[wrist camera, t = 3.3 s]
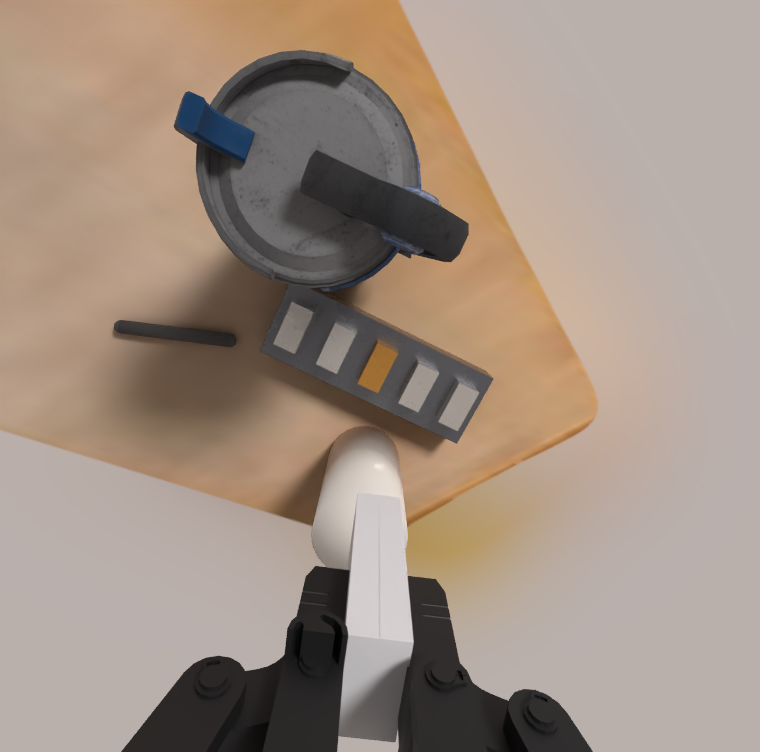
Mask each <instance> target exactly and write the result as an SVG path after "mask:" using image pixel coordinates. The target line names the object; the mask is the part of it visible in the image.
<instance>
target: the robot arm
mask: <svg viewBox="0 0 760 752" xmlns="http://www.w3.org/2000/svg"><path fill="white" fill-rule="evenodd" d="M397 730H398V735H399V750H398V752H592V750H591V748H590V747H589V745H588V744H587V742H586V741H585V739H584V738H583V737H582V735H581V733H580V732H579V730H578V729H577V727H576V726H575V724H574V723H573V721H572V720H571V718H570V717H569V715H568V714H567V712H566V711H565V710H564V709H563V708H562V707H561V705H560V704H559V703H558V702H556V701H555V700H554V699H552V698H551V697H549V696H548V695H546V694H544V693H541V692H539V691H536V690H528V689H523V690H520V691H517V692H515V693H514V694H513V695H512V696H511V698H510V699H509V701H507V700H504V699H502V698H500V697H497V696H495V695H492V694H490V693H488V692H486V691H484V690H482V689H480V688H479V687H478V686H476V685H475V684H474V683H473V682H472V681H471V679H470V676H469V674H468V672H467V670H466V669H465V668H464V667H463V666H462V665H461V664H460V662H459V657H458V653H457V648H456V643H455V638H454V633H453V629H452V623H451V620H450V613H449V609H448V604H447V599H446V594H445V591H444V590H443V589H442V587H441V586H440V584H439V583H438V582H437V580H436V579H429V578H420V577H412V576H407V566H406V555H405V545H404V534H403V524H402V513H401V502H400V498H399V497H391V496H383V495H375V494H367V493H360V492H358V494H357V501H356V508H355V515H354V522H353V529H352V536H351V543H350V551H349V558H348V566H347V570H344V569H336V568H327V567H319V566H315V567H314V568H313V569H312V571H311V572H310V573H309V574H308V575H307V576H306V578H305V583H304V587H303V592H302V596H301V600H300V604H299V609H298V613H297V617H295V618H294V619H293V620H292V621H291V623H290V625H289V627H288V630H287V638H286V647H285V655H284V656H283V657H282V658H281V659H280V660H278V661H277V662H276V663H274V664H272V665H270V666H268V667H264V668H260V669H256V670H250V671H245V670H244V669H243V667H242V666H241V664H240V663H239V662H237V661H235V660H233V659H232V658H229V657H222V656H216V657H208V658H205V659H202V660H200V661H198V662H196V663H194V664H193V665H192V666H191V667H190V668H188V669H187V670H186V671H185V672H184V673H183V675H182V676H181V677H180V678H179V680H178V681H177V682H176V683H175V685H174V686H173V687H172V689H171V690H170V691H169V692H168V694H167V695H166V696H165V697H164V699H163V700H162V701H161V702H160V704H159V705H158V706H157V707H156V709H155V710H154V711H153V712H152V714H151V715H150V716H149V717H148V719H147V720H146V721H145V723H144V724H143V725H142V726H141V728H140V729H139V730H138V731H137V733H136V734H135V735H134V736H133V738H132V739H131V740H130V742H129V743H128V744H127V745H126V746H125V748H124V749H123V750H122V752H337V745H338V736H343V737H351V738H360V739H370V740H379V741H388V742H395V741H396V735H397Z"/></svg>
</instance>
